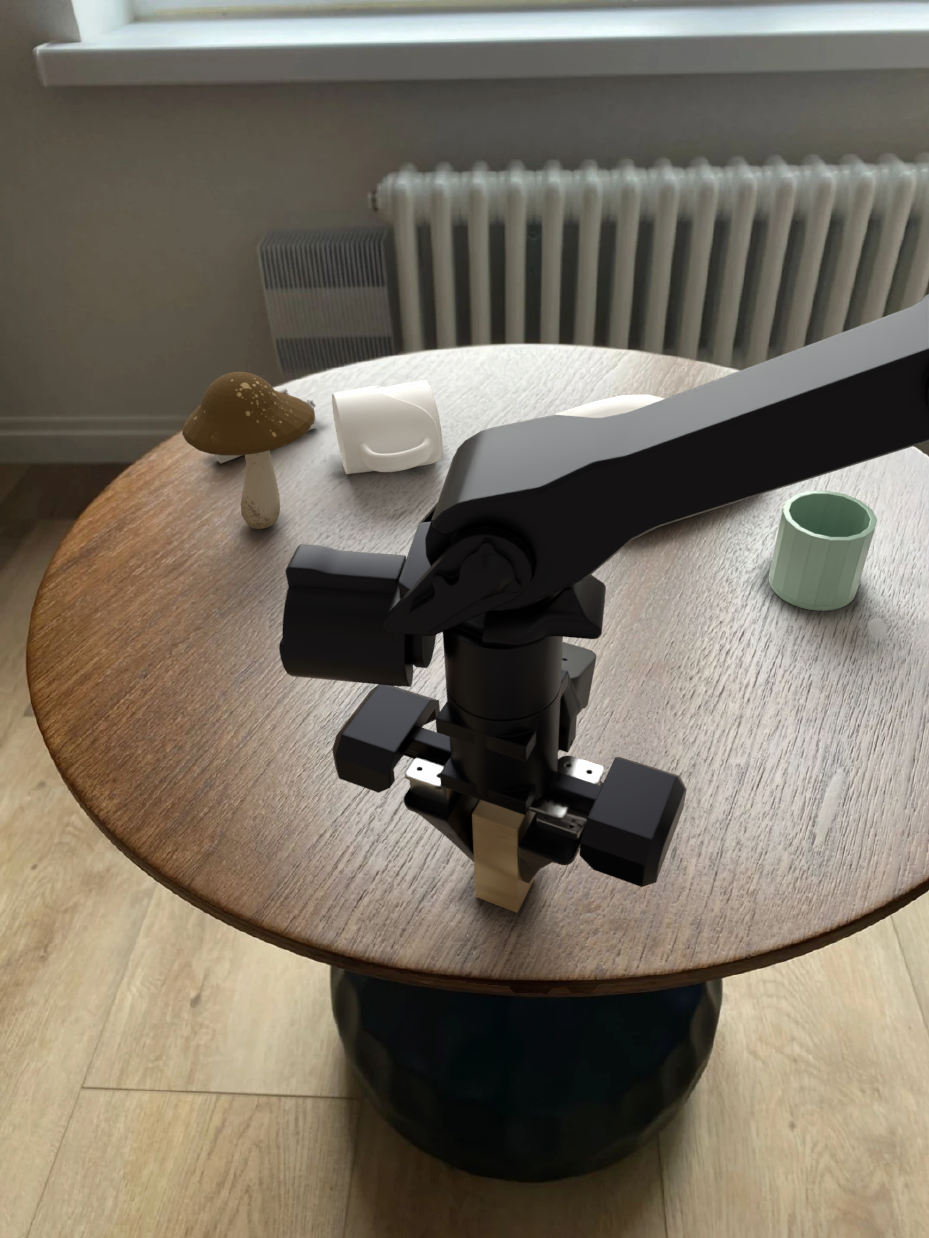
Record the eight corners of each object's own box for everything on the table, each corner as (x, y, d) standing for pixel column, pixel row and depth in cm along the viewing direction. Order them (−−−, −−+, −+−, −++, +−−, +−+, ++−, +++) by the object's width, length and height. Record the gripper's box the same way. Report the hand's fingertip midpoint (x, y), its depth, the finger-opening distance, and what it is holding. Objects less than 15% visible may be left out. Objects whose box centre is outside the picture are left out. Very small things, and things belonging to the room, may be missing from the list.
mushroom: (338, 538, 88) (316, 388, 78) (211, 562, 86) (173, 410, 76) (321, 487, 95) (299, 342, 85) (203, 508, 93) (167, 362, 83)
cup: (861, 570, 82) (882, 501, 77) (849, 619, 77) (869, 548, 73) (778, 551, 84) (793, 483, 80) (760, 598, 80) (775, 528, 75)
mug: (337, 446, 101) (327, 375, 96) (424, 432, 102) (419, 362, 97) (354, 507, 92) (345, 433, 87) (450, 491, 93) (446, 418, 88)
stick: (535, 877, 60) (537, 793, 55) (517, 913, 58) (517, 830, 53) (493, 861, 61) (491, 778, 56) (475, 897, 59) (471, 814, 54)
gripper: (730, 629, 50) (694, 818, 60) (411, 548, 57) (427, 731, 67) (669, 782, 43) (640, 969, 53) (310, 668, 49) (345, 854, 59)
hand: (505, 867), depth 58 cm, fingers closed on stick, 3 cm apart
